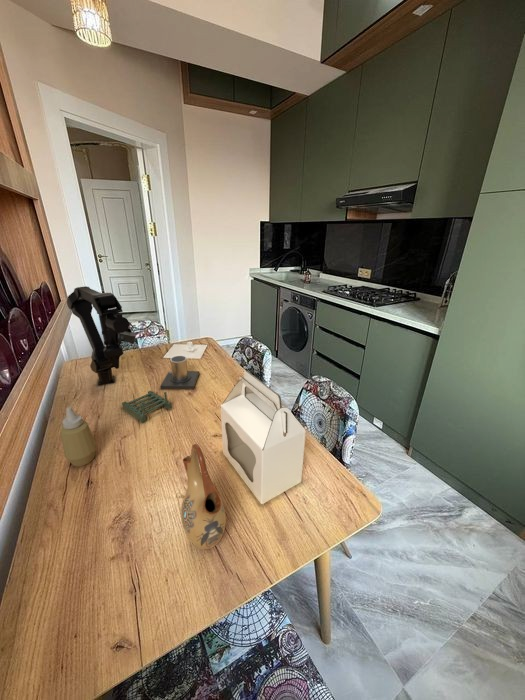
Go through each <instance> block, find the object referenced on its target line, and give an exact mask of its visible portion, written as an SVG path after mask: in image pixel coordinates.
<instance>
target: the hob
mask: <svg viewBox="0 0 525 700" xmlns="http://www.w3.org/2000/svg"><path fill="white" fill-rule="evenodd" d="M187 371H188V378H187V379H185V380H182V381H176V380H174V379H173V376H172V370H168V373H167V374H166V376H165V378H164V379H163V381H162V383H161V384H160V390H194V389H195V387H196V384H197V381H198V379H199V376H200V371H199V370H195V371H194V370H187Z"/></svg>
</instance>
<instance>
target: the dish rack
mask: <svg viewBox="0 0 525 700" xmlns="http://www.w3.org/2000/svg"><path fill="white" fill-rule="evenodd" d="M163 396H164V397H162V396H161V395H159V394H157V393H155V392H154V391H152V390H148V391H147V393H146V394H144V395H142V396H140V397H137V398H134V399H133V400H131V401H128V402H127V401H125V400H124V401H123V402H121V405H122V409H123V410H124V411H126V412H127V413H128V414H130V415H132V417H134V418H135V419H137V420H138V421H139V422H141V423H142V424H143V423H145V422H146V423H147V417H146V415H147V414H148V413H151V412H153V411H155V410H157V409H159V408H161V407H163V408H166V409H167V410H171V409H172V402H171V401H170V400H168V394H167V391H164V392H163Z"/></svg>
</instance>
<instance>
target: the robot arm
mask: <svg viewBox="0 0 525 700" xmlns="http://www.w3.org/2000/svg"><path fill="white" fill-rule="evenodd" d="M66 305H67V308H68V309H69V310H70V311H71V313H72V314H73V316H75V317H77V318H78V319H79V321H80V323H81V327H82V328H83V331H84V333H85V335H86V338H87V340H88V342H89V345H90V347H91V349H92V352H91V356H90V357H91V362H90V365H89V366H90V370H91V371H92V372H93V373H95V374H97V385H98V386H105V385H108V384H113V383H116V381H115V375H114V374H113V370H112V369H113V368H115V369H116V370H118V369H120V358H121V357H122V356H123V355H124V349H123V345H121V344H122V343H123V342H124V343H130V344H135V341H136V338H137V335H136V333H135V332H134V331H132V328H131V327H130V321H129V319H127V318H126V317H124V316H123V308H122V307H123V306H122V305H121V303H120V302H119V300H118V298H117V297H116V296H115V294H114V293H112V292H99V291H98V290H95V289H93V288H91V287H90V286H78V287H75V288H73V291H72V292H71V293H70V294H69V295H68V296H67V299H66ZM93 309H94V310H95V311H96V314H97V315H98V319H99V324H100V329H101V335H102V337H101V335H100V333H99V330H98V327H97V325H96V322H95V321H94V318H93V316H92V312H93ZM102 338H103V339H102Z"/></svg>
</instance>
